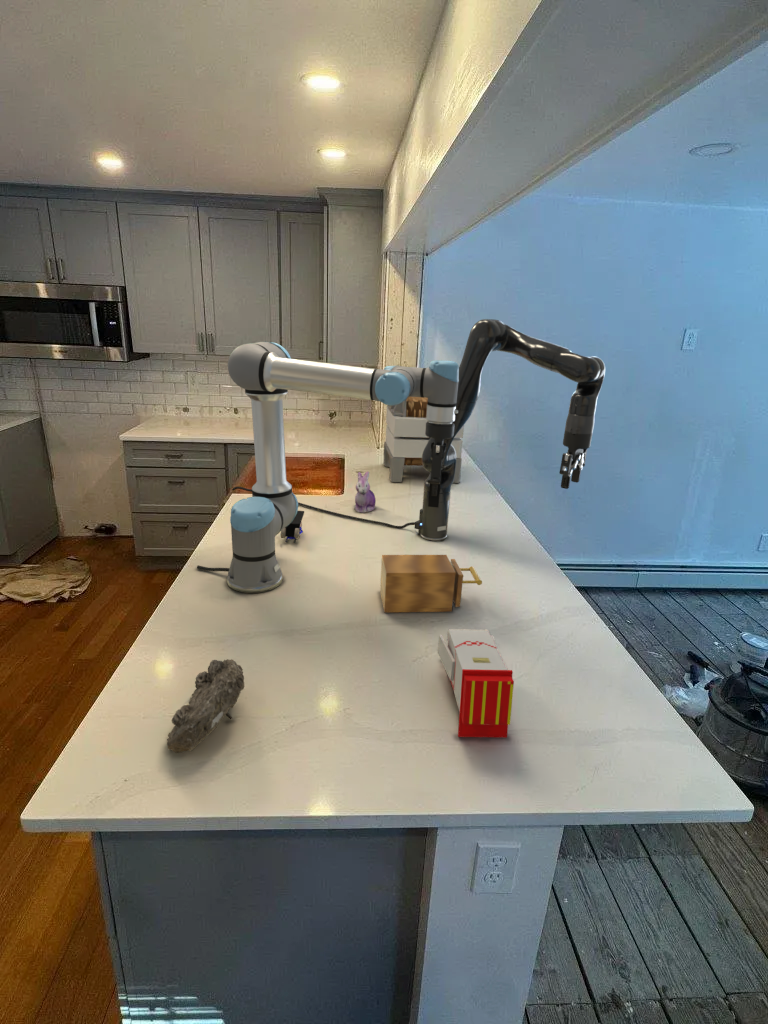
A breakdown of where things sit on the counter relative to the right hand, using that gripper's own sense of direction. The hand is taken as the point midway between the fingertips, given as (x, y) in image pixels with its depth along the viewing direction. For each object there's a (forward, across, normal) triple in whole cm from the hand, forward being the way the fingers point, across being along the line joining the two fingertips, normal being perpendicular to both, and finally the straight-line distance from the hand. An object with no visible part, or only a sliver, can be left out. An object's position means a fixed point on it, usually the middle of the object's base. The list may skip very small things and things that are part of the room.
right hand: (569, 485), depth 165 cm
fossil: (+29, +107, -27) cm, 114 cm away
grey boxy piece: (+29, -64, -93) cm, 117 cm away
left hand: (+3, +32, -26) cm, 42 cm away
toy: (+29, +68, +8) cm, 74 cm away
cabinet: (+29, +44, -23) cm, 57 cm away
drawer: (+28, +40, -19) cm, 52 cm away
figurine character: (+29, +34, -80) cm, 91 cm away
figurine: (+29, -5, -80) cm, 85 cm away
